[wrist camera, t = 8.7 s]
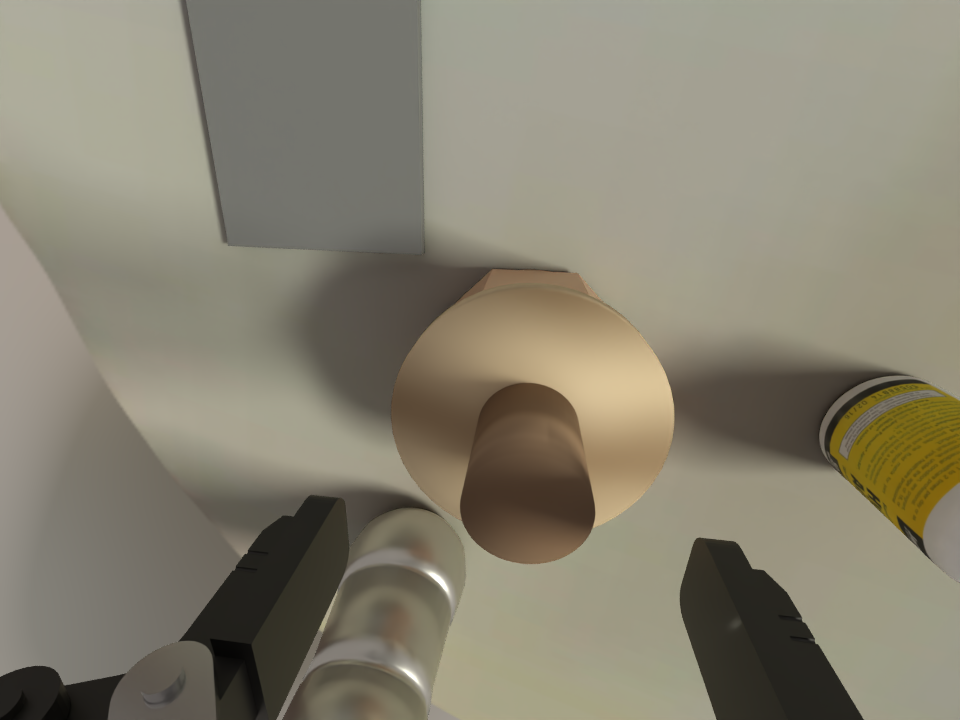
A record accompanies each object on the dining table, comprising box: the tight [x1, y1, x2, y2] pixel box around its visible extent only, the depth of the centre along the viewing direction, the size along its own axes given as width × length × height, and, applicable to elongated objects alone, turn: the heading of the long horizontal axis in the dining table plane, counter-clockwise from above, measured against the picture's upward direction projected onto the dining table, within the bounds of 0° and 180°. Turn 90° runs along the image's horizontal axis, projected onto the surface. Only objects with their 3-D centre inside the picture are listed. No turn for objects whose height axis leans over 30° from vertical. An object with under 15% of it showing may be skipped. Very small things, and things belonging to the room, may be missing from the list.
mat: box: [186, 0, 425, 255], centre depth 19 cm, size 10×9×1 cm
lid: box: [391, 283, 674, 564], centre depth 15 cm, size 10×10×6 cm
